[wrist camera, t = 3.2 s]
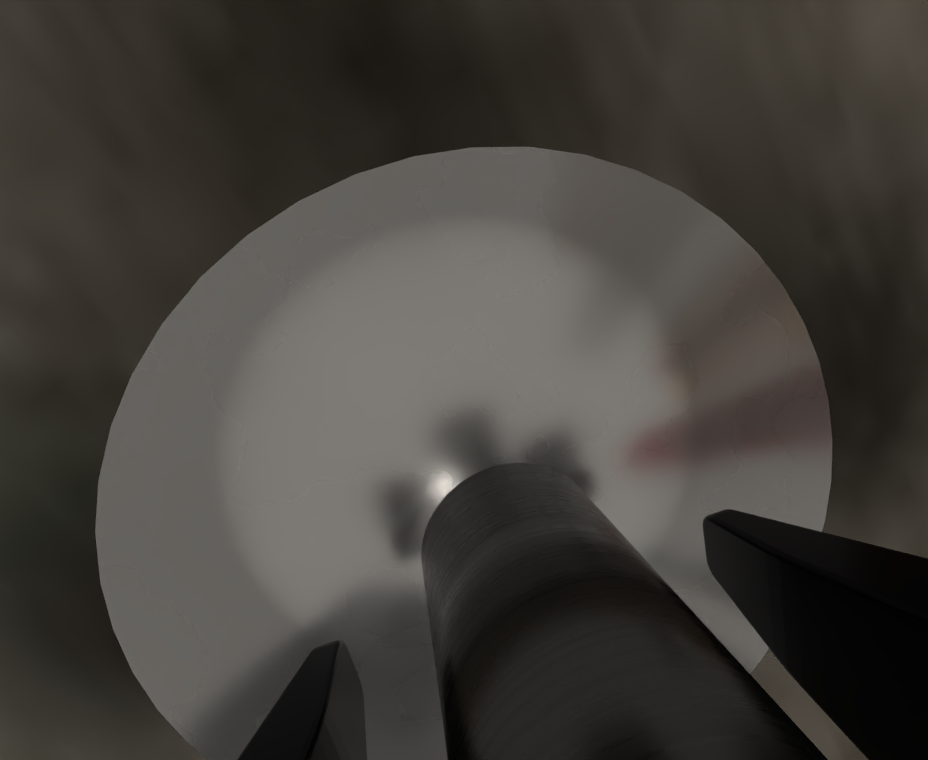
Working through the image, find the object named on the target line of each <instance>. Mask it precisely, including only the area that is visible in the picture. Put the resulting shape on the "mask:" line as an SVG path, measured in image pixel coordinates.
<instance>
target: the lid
mask: <svg viewBox="0 0 928 760" xmlns="http://www.w3.org/2000/svg"><path fill="white" fill-rule="evenodd" d="M832 442H833V441H832V431H831V421H830V410H829V401H828V397H827V392H826V388H825V384H824V379H823V375H822V371H821V367H820V362H819V360H818V357H817V354H816V352H815V349H814V347H813V344H812V342H811V339H810V336H809V334H808V331H807V329H806V326H805V324H804V322H803V320H802V318H801V316H800V314H799V313H798V311H797V309H796V307H795V306H794V304H793V302H792V300H791V299H790V297H789V295H788V293H787V292H786V290H785V288H784V286H783V285H782V283H781V282H780V281H779V280H778V278H777V277H776V276H775V275H774V273H773V272H772V271H771V270H770V268H769V267H768V266H767V264H766V263H765V262H764V261H763V259H762V258H761V257H760V256H759V254H758V253H757V252H756V250H755V249H753V248H752V247H751V246H750V245H749V244H748V243H747V242H746V241H745V240H744V239H743V238H742V237H741V236H740V235H738V234H737V233H736V232H735V231H734V230H733V229H732V228H731V227H730V226H729V225H728V224H727V223H726V222H725V221H723V220H722V219H721V218H720V217H718V216H717V215H715V214H714V213H712V212H711V211H710V210H708V209H707V208H705V207H704V206H702V205H701V204H699V203H698V202H696V201H695V200H693V199H692V198H690V197H689V196H687V195H686V194H684V193H683V192H682V191H679V190H677V189H675V188H673V187H671V186H669V185H667V184H665V183H663V182H661V181H658V180H656V179H654V178H652V177H650V176H648V175H646V174H644V173H642V172H639V171H637V170H635V169H632V168H628V167H625V166H622V165H618V164H615V163H612V162H608V161H605V160H602V159H598V158H595V157H592V156H588V155H585V154H578V153H571V152H563V151H556V150H549V149H542V148H535V147H471V148H464V149H458V150H451V151H445V152H438V153H432V154H425V155H419V156H413V157H410V158H406V159H403V160H400V161H397V162H393V163H390V164H387V165H384V166H380V167H377V168H374V169H371V170H367V171H364V172H361V173H358V174H355V175H352V176H350V177H348V178H346V179H344V180H342V181H340V182H338V183H336V184H333V185H331V186H329V187H327V188H325V189H323V190H321V191H319V192H317V193H314V194H312V195H310V196H308V197H306V198H304V199H302V200H300V201H298V202H296V203H295V204H293V205H292V206H290V207H289V208H287V209H286V210H284V211H283V212H281V213H280V214H278V215H277V216H275V217H274V218H272V219H271V220H269V221H268V222H266V223H265V224H263V225H262V226H260V227H259V228H257V229H256V230H254V231H253V232H251V233H250V234H248V235H247V236H246V237H245V238H243V239H242V240H241V241H240V242H239V243H238V244H237V245H236V246H235V247H233V248H232V249H231V250H230V251H229V252H228V253H227V254H226V255H225V256H223V257H222V258H221V259H220V260H219V261H218V262H217V263H216V264H214V265H213V266H212V267H211V268H210V269H209V270H208V271H207V272H206V273H204V274H203V275H202V276H201V277H200V278H199V280H198V281H197V282H196V283H195V284H194V286H193V287H192V288H191V289H190V291H189V292H188V293H187V294H186V295H185V297H184V298H183V299H182V300H181V301H180V303H179V304H178V305H177V306H176V307H175V309H174V310H173V311H172V312H171V313H170V315H169V316H168V317H167V318H166V320H165V321H164V322H163V323H162V325H161V326H160V328H159V330H158V331H157V333H156V335H155V337H154V338H153V340H152V342H151V343H150V345H149V347H148V348H147V350H146V352H145V353H144V355H143V357H142V358H141V360H140V362H139V363H138V365H137V367H136V368H135V370H134V372H133V373H132V375H131V378H130V380H129V383H128V385H127V388H126V390H125V393H124V395H123V398H122V400H121V403H120V405H119V407H118V410H117V412H116V415H115V417H114V420H113V422H112V425H111V428H110V432H109V436H108V441H107V445H106V449H105V454H104V458H103V463H102V467H101V471H100V476H99V480H98V496H97V511H96V527H95V536H96V546H97V556H98V565H99V575H100V584H101V587H102V591H103V595H104V598H105V602H106V606H107V609H108V613H109V617H110V620H111V624H112V628H113V631H114V633H115V635H116V637H117V639H118V642H119V644H120V646H121V648H122V650H123V653H124V655H125V657H126V659H127V661H128V663H129V666H130V668H131V670H132V672H133V674H134V675H135V677H136V678H137V680H138V681H139V683H140V684H141V686H142V687H143V689H144V690H145V692H146V693H147V695H148V696H149V698H150V699H151V701H152V702H153V704H154V705H155V707H156V708H157V710H158V711H159V712H160V713H161V714H162V715H163V716H164V717H165V719H166V720H167V721H168V722H169V723H170V724H171V725H172V726H173V727H174V728H175V730H176V731H177V732H178V733H179V734H180V735H181V736H182V737H183V738H184V739H185V740H186V742H187V743H189V744H190V745H191V746H192V747H193V748H195V749H196V750H197V751H198V752H200V753H201V754H202V755H203V756H204V757H206V758H207V759H208V760H237V759H238V757H239V756H240V754H241V753H242V751H243V750H244V748H245V747H246V745H247V744H248V743H249V741H250V740H251V738H252V737H253V735H254V734H255V732H256V731H257V729H258V728H259V726H260V725H261V723H262V722H263V720H264V719H265V717H266V716H267V715H268V713H269V712H270V710H271V709H272V707H273V706H274V704H275V703H276V701H277V700H278V698H279V697H280V695H281V694H282V692H283V691H284V690H285V688H286V687H287V685H288V684H289V682H290V681H291V679H292V678H293V676H294V675H295V673H296V672H297V670H298V669H299V667H300V666H301V665H302V663H303V662H304V660H305V659H306V657H307V656H308V654H309V653H310V652H311V650H312V649H313V648H315V647H317V646H319V645H322V644H325V643H328V642H331V641H334V640H337V639H340V640H343V641H344V643H345V644H346V646H347V648H348V651H349V653H350V656H351V658H352V661H353V663H354V666H355V669H356V671H357V674H358V676H359V679H360V682H361V685H362V690H363V696H364V710H365V729H366V747H367V760H828V759H827V758H826V757H825V756H824V755H823V754H822V753H821V752H820V751H819V749H818V748H817V747H816V746H815V745H814V744H813V743H812V742H811V741H810V740H809V738H808V737H807V736H806V735H805V734H804V733H803V732H802V731H801V730H800V729H799V728H798V726H797V725H796V724H795V723H794V722H793V721H792V720H791V719H790V718H789V717H788V715H787V714H786V713H785V712H784V711H783V710H782V709H781V708H780V707H779V706H778V704H777V703H776V702H775V701H774V700H773V699H772V698H771V697H770V696H769V695H768V694H767V692H766V691H765V690H764V689H763V688H762V687H761V686H760V685H759V684H758V683H757V681H756V680H755V679H754V678H753V677H752V676H751V675H750V673H751V672H752V671H753V670H754V668H755V667H756V666H757V665H758V664H759V662H760V661H761V660H762V658H763V657H764V655H765V654H766V652H767V651H768V649H769V647H768V646H767V645H766V644H765V642H764V641H763V640H762V638H761V637H760V636H759V635H758V633H757V632H756V631H755V629H754V628H753V627H752V625H751V624H750V623H749V622H748V620H747V619H746V618H745V616H744V615H743V614H742V613H741V611H740V610H739V609H738V607H737V606H736V605H735V604H734V602H733V601H732V600H731V598H730V597H729V596H728V594H727V593H726V592H725V591H724V589H723V588H722V587H721V585H720V584H719V583H718V582H717V580H716V579H715V578H714V576H713V575H712V573H711V571H710V569H709V567H708V564H707V559H706V551H705V543H704V534H703V519H704V518H705V517H706V516H707V515H710V514H713V513H716V512H719V511H722V510H725V509H732V510H737V511H741V512H745V513H749V514H753V515H756V516H760V517H764V518H768V519H772V520H776V521H780V522H784V523H788V524H792V525H796V526H800V527H804V528H808V529H812V530H816V531H820V532H822V530H823V526H824V523H825V518H826V512H827V505H828V499H829V493H830V486H831V473H832Z"/></svg>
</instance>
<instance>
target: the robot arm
mask: <svg viewBox="0 0 928 760" xmlns="http://www.w3.org/2000/svg"><path fill="white" fill-rule="evenodd" d="M703 534H704V543H705V551H706V559H707V564H708V567H709V569H710V571H711V573H712V575H713V576H714V578H715V579H716V580H717V582H718V583H719V584H720V585H721V587H722V588H723V589H724V591H725V592H726V593H727V594H728V596H729V597H730V598H731V600H732V601H733V602H734V604H735V605H736V606H737V607H738V609H739V610H740V611H741V613H742V614H743V615H744V616H745V618H746V619H747V620H748V622H749V623H750V624H751V625H752V627H753V628H754V629H755V631H756V632H757V633H758V635H759V636H760V637H761V638H762V640H763V641H764V642H765V644H766V645H767V646H768V647H769V649H770V650H771V651H772V653H773V654H774V655H775V656H776V658H777V659H778V660H779V661H780V663H781V664H782V665H783V666H784V667H785V669H786V670H787V671H788V672H789V673H790V674H791V676H792V677H793V678H794V679H795V680H796V681H797V682H798V683H799V685H800V686H801V687H802V688H803V689H804V690H805V691H806V692H807V693H808V694H809V696H810V697H811V698H812V699H813V700H814V701H815V702H816V703H817V704H818V705H819V706H820V708H821V709H822V710H823V711H824V712H825V713H826V714H827V715H828V716H829V717H830V718H831V719H832V721H833V722H834V723H835V724H836V725H837V726H838V727H839V728H840V729H841V730H842V731H843V732H844V734H845V735H846V736H847V737H848V738H849V739H850V740H851V741H852V742H853V743H854V744H855V746H856V747H857V748H858V749H859V750H860V751H861V752H862V753H863V754H864V755H865V756H866V757H867V759H868V760H928V559H927V558H923V557H919V556H915V555H911V554H907V553H903V552H899V551H895V550H891V549H887V548H883V547H879V546H875V545H871V544H867V543H863V542H860V541H856V540H852V539H848V538H844V537H840V536H836V535H832V534H828V533H824V532H820V531H816V530H812V529H808V528H804V527H800V526H796V525H792V524H788V523H784V522H780V521H776V520H772V519H768V518H764V517H760V516H756V515H753V514H749V513H745V512H741V511H737V510H732V509H725V510H722V511H719V512H716V513H713V514H710V515H707V516H706V517H705V518H704V519H703ZM237 760H367V747H366V729H365V710H364V696H363V690H362V685H361V682H360V679H359V676H358V674H357V671H356V669H355V666H354V663H353V661H352V658H351V656H350V653H349V651H348V648H347V646H346V644H345V643H344V641H343V640H340V639H337V640H334V641H331V642H328V643H325V644H322V645H319V646H317V647H315V648H313V649H312V650H311V652H310V653H309V654H308V656H307V657H306V659H305V660H304V662H303V663H302V665H301V666H300V667H299V669H298V670H297V672H296V673H295V675H294V676H293V678H292V679H291V681H290V682H289V684H288V685H287V687H286V688H285V690H284V691H283V692H282V694H281V695H280V697H279V698H278V700H277V701H276V703H275V704H274V706H273V707H272V709H271V710H270V712H269V713H268V715H267V716H266V717H265V719H264V720H263V722H262V723H261V725H260V726H259V728H258V729H257V731H256V732H255V734H254V735H253V737H252V738H251V740H250V741H249V743H248V744H247V745H246V747H245V748H244V750H243V751H242V753H241V754H240V756H239V757H238V759H237Z"/></svg>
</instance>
